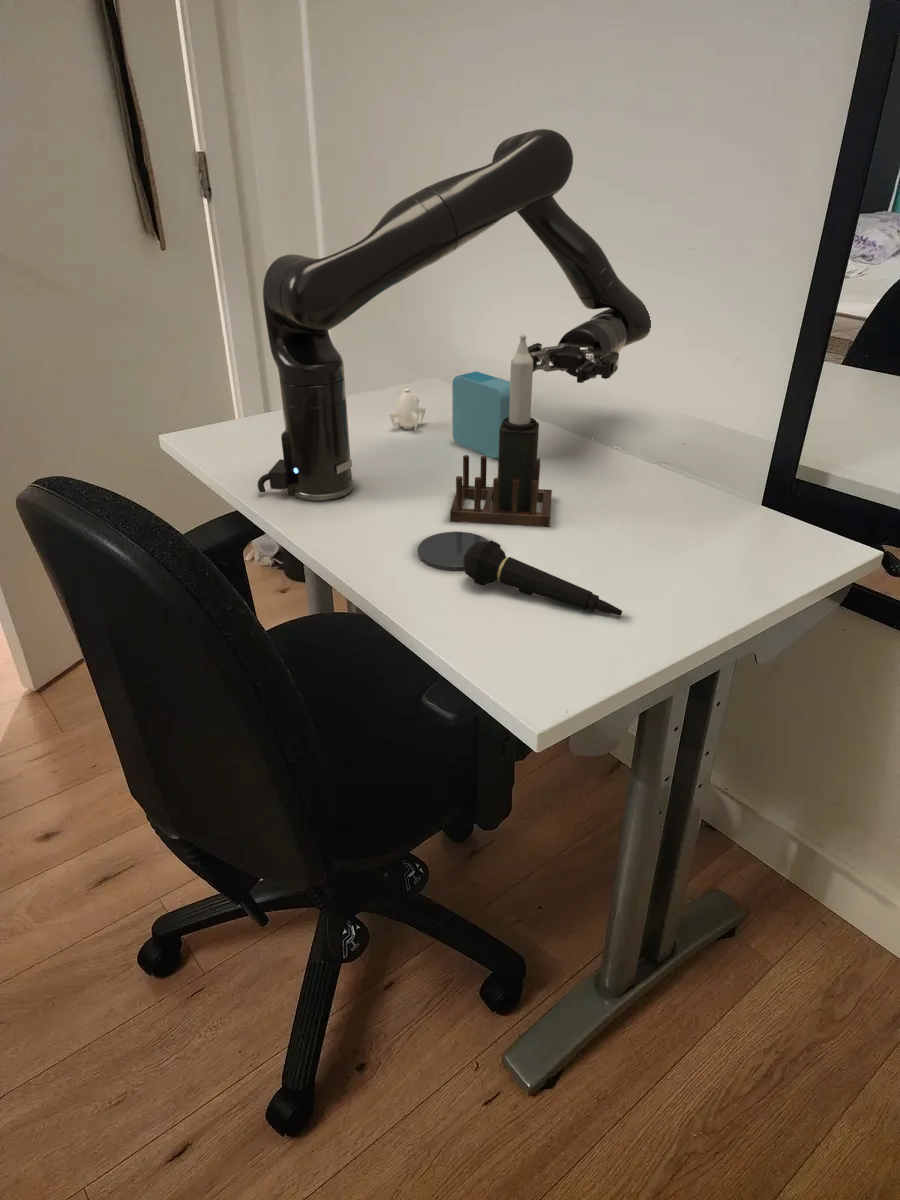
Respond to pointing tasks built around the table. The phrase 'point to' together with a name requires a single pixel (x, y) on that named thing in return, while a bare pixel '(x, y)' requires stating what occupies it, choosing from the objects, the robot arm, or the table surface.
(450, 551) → the slate coaster
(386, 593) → the table surface
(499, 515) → the drying rack
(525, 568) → the microphone
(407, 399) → the rocket toy
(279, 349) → the robot arm
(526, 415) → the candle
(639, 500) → the table surface
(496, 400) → the data package
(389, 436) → the table surface
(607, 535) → the table surface
